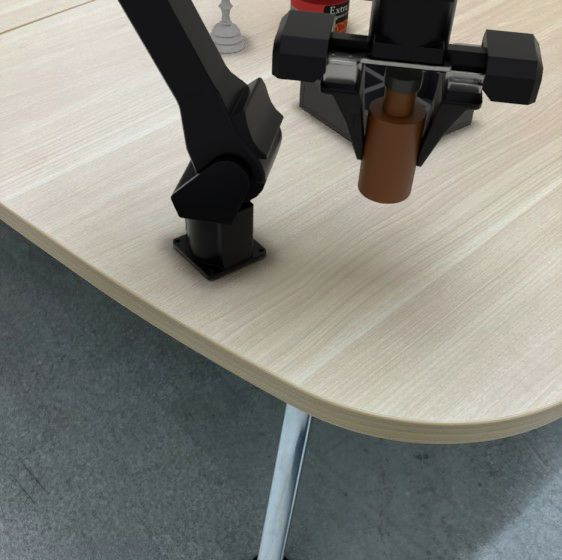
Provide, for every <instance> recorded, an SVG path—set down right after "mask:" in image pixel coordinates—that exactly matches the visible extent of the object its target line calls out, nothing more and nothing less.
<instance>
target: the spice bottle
mask: <svg viewBox="0 0 562 560" xmlns="http://www.w3.org/2000/svg"><path fill="white" fill-rule="evenodd" d="M422 80H423V71H422V70H412V69H403V68H393V67H387V68H386V69H385V75H384V81H383V83H384V86H385V92H384V97H380V98H377V99H375V100H374V101H372V102H371V104H370V105H369V109H368V116H367V123H366V130H365V137H364V147H363V154H362V160H360V166H359V172H358V180H357V189H358V191H359V193H360V194H361V195H362V196H363V198H366V200H367V199H368V200H369V201H371V202H374V203H378V204H384V205H393V204H394V205H395V204H399V203H402V202H404V201H405V200H407V199H408V198H409V197H410V196H411V194H412V188H413V184H414V178H415V174H416V169H417V166H416V164H417V159H418V154H419V149H420V145H421V140H422V135H423V130H424V125H425V120H426V115H427V113H426V110H425V108H424V107H423V106H422V105H421V104H420V103H418V102H416V97H417V92H418V91H419V90H420V88H421V85H422Z"/></svg>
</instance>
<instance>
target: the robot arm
mask: <svg viewBox="0 0 562 560" xmlns="http://www.w3.org/2000/svg"><path fill="white" fill-rule="evenodd" d="M364 1H366V2H371V8H370V16H369V26H368V27H369V28H368V34H367V35H366V34H357V33H348V32H345V33H339V32H335V22H336V18H335V14H329V13H319V12H309V11H299V10H290V9H289V10H288V11H287V12H286V13H284V15H283V16H282V17H281V20H280V21H279V22H280V23H279V25H278V27H277V30H276V33H275V36H274V38H273V44H272V52H271V75H272V76H273V77H275V78H276V79H278V80H286V81H297V82H301V81H304V82H313V83H314V82H315V81H316V80H318V79H319V78H320V77H321V76H322V78H321V82H320V91H321V92H322V93H324V94H328V95H332V96H333V97H334V99H335V101H336V103H337V106H338V108H339V110H340V112H341V114H342V116H343V118H344V120H345V123H346V125H347V129H348V132H349V135H350V138H351V141H350V142H351V145H352V148H353V151H354V154H355V158H356V160H357V161H361V160H362V154H363V147H364V137H365V65H374V66H384V67H393V68H403V69H412V70H422V71H432V72H440V75H439V79H438V83H437V88H436V91H435V95H434V98H433V101H432V104H431V108H430V111H429V114H428V117H427V120H426V124H425V127H424V130H423V135H422V140H421V145H420V149H419V154H418V159H417V164H416V167H419V168H420V167H423V165H424V164H425V162H426V161H427V159H428V158H429V157H430V155H431V154H432V152H433V151H434V150H435V148H436V147H437V145H438V144H439V143H440V141H441V140H442V139H443V137H444V136H445V135H446V134H445V133H446V132H447V131H448V130H449V128H450V127H451V126H452V125H453V124H454V123H455V122H456V121H457V120H458V119H459V118H460V117H461V116H462V115H463V114H464V113H465V112H466V111H467V110H474V111H478V110H480V109H481V108H482V107H483V101H484V100H483V99H484V98H483V93H484V94H485V96H486V97H487V98H488V100H489V101H490V102H491V103H502V104H511V105H512V104H513V105H521V106H530V105H532V104H534V103H536V102H537V98H538V94H539V92H540V88H541V85H542V80H543V74H544V64H543V59H542V52H541V46H540V42H539V41H538V40H537V38H536V36H535V34H534V33H528V32H520V31H519V32H518V31H508V30H498V29H488V28H486V29H485V31H484V33H483V36H482V40H481V44H474V43H464V42H455V43H450V42H451V41H450V40H451V35H452V31H453V26H454V21H455V16H456V10H457V5H458V0H364ZM117 2H118V4H119V5H120V7H121V9H122V10H123V13H124V14H125V16H126V17H127V19H128V21H129V22H130V25H131V26H132V28H133V30H134V31H135V33H136V34H137V36H138V38H139V39H140V41H141V43H142V44H143V47H144V48H145V50H146V51H147V54H148V55H149V57H150V58H151V60H152V62H153V63H154V65H155V67H156V69H157V71H158V72H159V74H160V75H161V77H162V79H163V81H164V82H165V84H166V85H167V88H168V89H169V91H170V92H171V94H172V96H173V98H174V100H175V101H176V104H177V106H178V109H179V113H180V119H181V120H180V121H181V126H182V132H183V139H184V144H185V149H186V152H187V154H188V156H189V159H190V160H189V162H188V163H187V166H186V168H185V169H184V171H183V173H182V175H181V177H180V178H179V181H178V182H177V184H176V186H175V188H174V190H173V192H172V193H171V195H170V201H171V203H172V205H173V207H174V210H175V211H176V214H177V216H178V217H179V218H180V219H184V224H185V231H186V233H185V234H182V235H180V236H178V237H175V238H173V240H172V247H174V248H175V250H177V251H178V252H179V253H180V254H181V255H182V256H183V257H184V258H185V259H186V260H187V262H189V263H190V264H191V265H192V266H193V267H194V268H195V269H197V271H198V272H200V273H201V274H202V275H203V276H204V277H205V279H208V280H210V281H211V280H212V281H213V280H215V279H218V278H220V277H222V276H225V275H227V274H229V273H231V272H234V271H236V270H238V269H241V268H242V267H245V266H247V265H250V264H251V263H254V262H257V261H258V260H260V259H263V258H265V257H266V256H267V248H265V246H263V245H262V244H261V243H260V242H258V241H257V240H256V239H255V238H254V213H255V211H254V209H255V208H254V207H255V205H254V203H253V202H252V200H254V199H256V198H258V196H259V195H260V194H261V193H262V192H263V191H264V188H265V186H266V183H267V181H268V178H269V176H270V173H271V170H272V169H273V166H274V162H275V161H276V159H277V156H278V153H279V150H280V148H281V145H282V141H283V131H282V129H281V126H282V123H283V120H284V117H285V116H284V115H283V114H282V113H281V112H280V111H279V110H278V109H277V108H276V106H275V105H274V103H273V102H272V99H271V97H270V95H269V91H268V88H267V84H266V82H265V81H264V80H263V78H262V77H260V76H259V77H256V78H255V79H254V80H252V81H251V82H249V83H247V82H245V81H243V79H241V78H239V77H238V76H237V75H236V74H235V73H233V72H232V71H231V70H230V69H229V67H228V66H227V64H226V63H225V60H224V59H223V57H222V54H221V53H220V52H219V51H218V49H217V47H216V45H215V44H214V42H213V40H212V38H211V36H210V34H211V33H210V32H209V30H208V29H207V26H206V25H205V23H204V21H203V19H202V17H201V15H200V13H199V11H198V10H197V8H196V6H195V4H194V2H193V0H117ZM444 134H445V135H444Z"/></svg>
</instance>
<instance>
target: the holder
mask: <svg viewBox="0 0 562 560" xmlns="http://www.w3.org/2000/svg"><path fill="white" fill-rule="evenodd" d="M386 68H387V67H384V66H374V65H365V130H366V123H367V116H368V109H369V105H370V104H371V102H372V101H374V100H375V99H377V98H380V97H384V92H385V86H384V83H383V81H384V75H385V69H386ZM439 75H440V72H432V71H423V80H422V85H421V88H420V90H419V91H418V92H417V97H416V102H418V103H420V104H421V105H422V106H423V107H424V108H425V110H426V113H427V115H426V120H427V117H428V114H429V111H430V108H431V104H432V101H433V98H434V95H435V91H436V88H437V83H438V79H439ZM321 78H322V76H321V77H320V78H319V79H318V80H316V81H315V82H314V83H313V82H304V81H299V83H300V84H299V99H298V101H299V102H298V107H299V108H301V109H303V110H304V111H305V112H306V113H308V114H310V115H311V116H313V117H314V118H316V119H317V120H319V121H320V122H321V123H323V124H325V125H326V126H328V127H329V128H331V130H333V131H335V132H336V133H338V134H339V135H340V136H343V137H344V138H345V139H346V140H348V141H350V142H351V138H350V135H349V132H348V129H347V125H346V123H345V120H344V118H343V116H342V114H341V112H340V110H339V108H338V106H337V103H336V101H335V99H334V97H333V96H332V95H328V94H324V93H322V92H321V91H320V82H321ZM474 112H475V110H467V111H466V112H465V113H464V114H463V115H462V116H461V117H460V118H459V119H458V120H457V121H456V122H455V123H454V124H453V125H452V126H451V127H450V128H449V130H448V131H447V132H446V133H445V134H444V135H443V136H445V135H447V134H450V133H453V132H455V131H457V130H459V129H463V128H464V127H467V126H470V125H471V124H472V122H473V117H474ZM426 120H425V124H426ZM424 127H425V125H424Z"/></svg>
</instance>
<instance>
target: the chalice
mask: <svg viewBox="0 0 562 560" xmlns="http://www.w3.org/2000/svg"><path fill="white" fill-rule="evenodd" d="M233 7H234V5H233V3H232V2H231V0H220V3H219V4H218V8H219V9H220V11H221V20H220V21H219V22H217V23H216V24H215V25H214V26H213V27H212V28H211V32H210V33H209V34H210V36H211V38H212V40H213V42H214V44H215V45H216V47H217V49H218V51H219V53H220V54H221V53H222V54H232V53H238V52H241V51H243V50H244V49H245V47H246V41H245V40H244V36H243V35H242V32H241V29H240V27H238V25H237V24H236V23H234V22H233V21H232V20H231V16H230V15H231V10H232V9H233Z"/></svg>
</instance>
